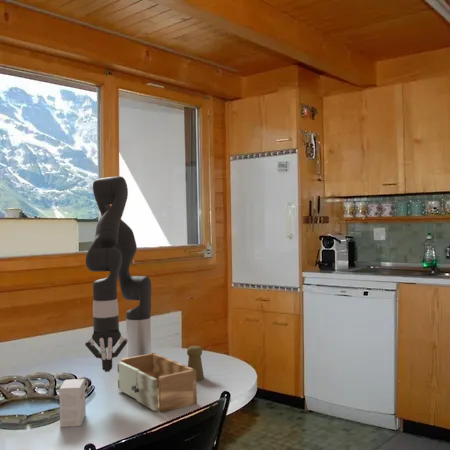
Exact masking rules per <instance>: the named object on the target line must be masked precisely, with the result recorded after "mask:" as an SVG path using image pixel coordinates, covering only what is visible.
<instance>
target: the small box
mask: <svg viewBox="0 0 450 450" xmlns="http://www.w3.org/2000/svg"><path fill="white" fill-rule="evenodd" d="M58 389H59V390H58V395H59V425H60V426H59V427H60V428H68V426H71V427H81V426H82V423H83V421H84V419H85V416H86V411H87V410H86V379H85V378H78V379H77V378H74V379H64V381H63V382H62V385H61V386H60V387H59V388H58Z"/></svg>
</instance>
